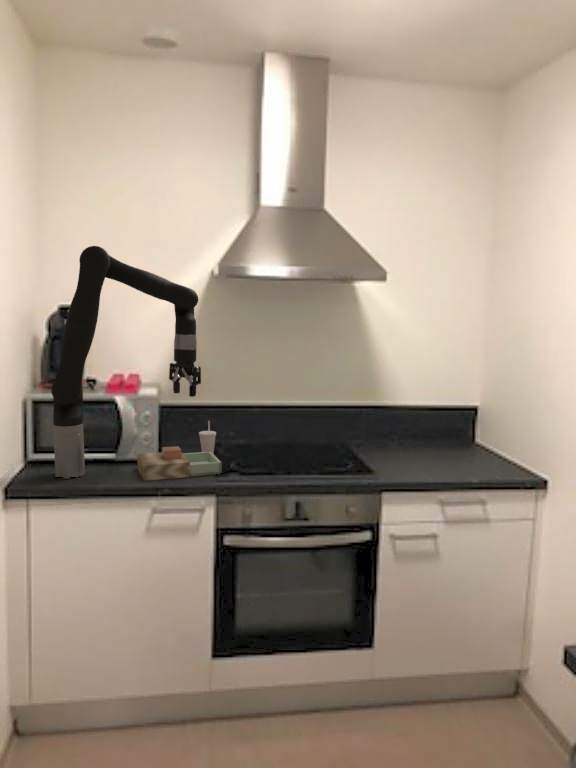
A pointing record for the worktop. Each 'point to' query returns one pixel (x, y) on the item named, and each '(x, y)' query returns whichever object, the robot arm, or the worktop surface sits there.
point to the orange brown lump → (171, 453)
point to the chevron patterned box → (162, 467)
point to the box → (203, 464)
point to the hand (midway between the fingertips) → (184, 394)
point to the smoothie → (207, 440)
